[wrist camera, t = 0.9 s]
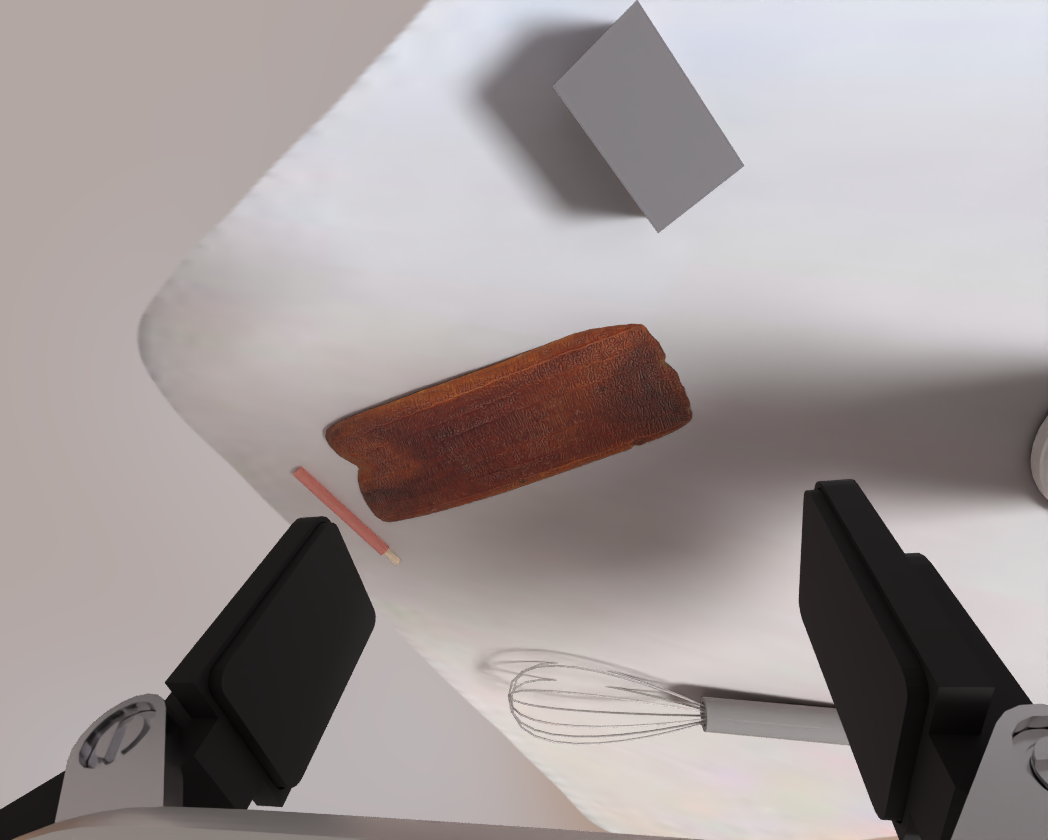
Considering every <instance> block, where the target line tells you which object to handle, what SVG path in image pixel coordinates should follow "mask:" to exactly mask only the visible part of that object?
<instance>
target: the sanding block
mask: <svg viewBox="0 0 1048 840" xmlns="http://www.w3.org/2000/svg"><path fill="white" fill-rule="evenodd" d="M552 87H553V89H554V90H555V91H556V93H557V94H558V95H559V97H560V98H561V100H562V101H563V102H564V104H565V105H566V107H567V108H568V109H569V111H570V112H571V113H572V115H573V116H574V118H575V119H576V120H577V122H578V123H579V125H580V126H581V127H582V129H583V130H584V131H585V133H586V134H587V136H588V137H589V138H590V140H591V141H592V142H593V144H594V145H595V147H596V148H597V149H598V151H599V152H600V154H601V155H602V156H603V158H604V159H605V160H606V162H607V163H608V165H609V166H610V167H611V169H612V170H613V172H614V173H615V174H616V176H617V177H618V178H619V180H620V181H621V183H622V184H623V185H624V187H625V188H626V190H627V191H628V192H629V194H630V195H631V196H632V198H633V199H634V201H635V202H636V203H637V205H638V206H639V208H640V209H641V210H642V212H643V213H644V214H645V216H646V217H647V219H648V220H649V221H650V223H651V224H652V225H653V227H654V228H655V230H656V231H657V232H658V233H659V232H660V231H662V230H663V229H664V228H665V227H667V226H668V225H669V224H671V223H672V222H673V221H674V220H676V219H677V218H678V217H680V216H681V215H682V214H683V213H685V212H686V211H687V210H688V209H690V208H691V207H692V206H694V205H695V204H696V203H697V202H699V201H700V200H701V199H703V198H704V197H705V196H706V195H708V194H709V193H710V192H711V191H713V190H714V189H715V188H717V187H718V186H719V185H720V184H722V183H723V182H724V181H726V180H727V179H728V178H729V177H731V176H732V175H733V174H734V173H736V172H737V171H738V170H740V169H741V168H742V167H743V166H744V164H743V163H742V161H741V160H740V158H739V157H738V155H737V154H736V152H735V150H734V149H733V147H732V146H731V144H730V143H729V141H728V140H727V138H726V137H725V135H724V133H723V132H722V130H721V129H720V127H719V126H718V124H717V123H716V121H715V120H714V118H713V116H712V115H711V113H710V112H709V110H708V109H707V107H706V106H705V104H704V102H703V101H702V99H701V98H700V96H699V95H698V93H697V92H696V90H695V89H694V87H693V85H692V84H691V82H690V81H689V79H688V78H687V76H686V75H685V73H684V72H683V70H682V68H681V67H680V65H679V64H678V62H677V61H676V59H675V58H674V56H673V54H672V53H671V51H670V50H669V48H668V47H667V45H666V44H665V42H664V41H663V39H662V37H661V36H660V34H659V33H658V31H657V30H656V28H655V27H654V25H653V24H652V22H651V20H650V19H649V17H648V16H647V14H646V13H645V11H644V10H643V8H642V6H641V5H640V3H639V2H638V0H637V1H636V2H635V3H634V4H633V5H632V6H631V7H630V8H629V9H628V10H627V11H626V12H625V13H624V14H623V15H622V16H621V17H620V18H619V19H618V20H617V21H616V22H615V23H614V24H613V25H612V26H611V27H610V28H609V29H608V30H607V31H606V32H605V33H604V34H603V35H602V36H601V37H600V38H599V39H598V40H597V41H596V42H595V43H594V44H593V45H592V46H591V47H590V49H589V50H588V51H587V52H586V53H585V54H584V55H583V56H582V57H581V58H580V59H579V60H578V61H577V62H576V63H575V64H574V65H573V66H572V67H571V68H570V69H569V70H568V71H567V72H566V73H565V74H564V75H563V76H562V77H561V78H560V79H559V80H558V81H557V82H556V83H555V84H554V85H553V86H552Z"/></svg>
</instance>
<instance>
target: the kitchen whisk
mask: <svg viewBox="0 0 1048 840" xmlns="http://www.w3.org/2000/svg"><path fill="white" fill-rule="evenodd" d="M545 664H557V663H555V662H551V663H540V664H538V665H535V666H533V667H530V668H528V669H526V670H524V671H522V672H521V673H519V674H518V675H517V676H516V677H515V678H514V679H513V680H512V682H511V686H510V690H509V694H508V700H509V705H510V710H511V713H512V714H513V716H514V717H515V719H516V721H517V722H518V724H519V725H520V727H521V728H522V729H523V730H525V731H527V732H528V733H530V734H531V735H533V736H534V737H536V738H540V739H543V740H547V741H550V742H554V743H562V744H573V745H591V744H607V743H617V742H626V741H632V740H638V739H644V738H649V737H654V736H659V735H663V734H668V733H672V732H676V731H680V730H684V729H688V728H692V727H695V726H699V725H702V728H703V730H704V732H713V733H723V734H734V735H745V736H755V737H766V738H777V739H787V740H798V741H808V742H819V743H830V744H840V745H850V744H849V741H848V739H847V736H846V734H845V731H844V728H843V726H842V723H841V720H840V718H839V715H838V712H837V710H836V708H827V707H815V706H804V705H792V704H781V703H770V702H758V701H747V700H735V699H724V698H713V697H702V698H701V702H700V703H699V702H696V701H694V700H692V699H689V698H687V697H685V696H682V695H680V694H677V693H675V692H672V691H670V690H667V689H665V688H662V687H659V686H657V685H654V684H651V683H648V682H646V681H643V680H640V679H637V678H634V677H631V676H627V675H624V674H621V673H617V672H612V671H608V672H612V673H615V674H619V675H623V676H626V677H629V678H632V679H635V680H638V681H641V682H638V681H635V680H632V679H629V678H625V677H622V676H618V675H614V674H610V673H606V672H602V671H598V670H592V669H587V668H581V667H575V666H564V665H545ZM539 665H545V666H539ZM555 666H556V667H567V668H578V669H583V670H588V671H594V672H599V673H603V674H607V675H611V676H615V677H619V678H623V679H626V680H629V681H633V682H636V683H639V684H643V685H646V686H649V687H652V688H655V689H658V690H660V691H663V692H666V693H669V694H672V695H674V696H677V697H680V698H682V699H685V700H687V701H690V702H692V703H695V704H697V705H700V707H696V706H692V705H689V704H685V703H681V702H678V701H674V700H670V699H666V698H662V697H658V696H654V695H649V694H645V693H641V692H636V691H632V690H627V689H623V688H617V687H609V688H614V689H620V690H624V691H629V692H634V693H638V694H643V695H647V696H651V697H655V698H659V699H663V700H667V701H671V702H675V703H679V704H683V705H686V706H690V707H694V708H697V709H700V710H695V709H689V708H683V707H677V706H671V705H665V704H658V703H652V702H645V701H638V700H632V699H625V698H617V697H610V696H602V695H594V694H585V693H576V692H565V691H554V690H518V691H515V690H516V688H517V687H519V686H521V685H523V684H525V683H529V682H535V681H557V680H555V679H538V680H532V681H526V682H524V683H522V684H520V685H518V686H516V683H517V680H518V679H519V678H520V677H521V676H522V675H523V674H524V673H525V672H526V671H529V670H532V669H535V668H540V667H555ZM515 679H516V681H515V684H514V688H513V691H512V692H511V688H512V684H513V681H514V680H515ZM642 682H644V683H642ZM645 683H647V684H645ZM648 684H649V685H648ZM651 685H652V686H651ZM515 686H516V687H515ZM654 686H655V687H654ZM605 687H608V686H605ZM657 687H658V688H657ZM527 691H539V692H557V693H568V694H579V695H587V696H596V697H604V698H612V699H619V700H627V701H633V702H640V703H647V704H654V705H660V706H666V707H673V708H679V709H685V710H691V711H696V712H700V715H686V714H651V713H625V712H605V711H589V710H574V709H563V708H553V707H546V706H538V705H533V704H528V703H523V702H520V701H517V700H514V699H513V698H512V696H513V693H517V692H527ZM510 692H511V693H510ZM510 701H511V702H510ZM513 701H515V702H518V703H521V704H524V705H530V706H535V707H541V708H549V709H557V710H568V711H580V712H594V713H612V714H634V715H661V716H701V719H695V720H687V721H678V722H668V723H656V724H642V725H623V726H582V725H567V724H557V723H550V722H545V721H540V720H535V719H533V718H530V717H528V716H525V715H523V714H521V713H520V712H518V711H517V710H516V709H515V708H514V707H513ZM514 710H515V711H516V712H517V713H518V714H519V715H521V716H523V717H526V718H528V719H531V720H533V721H536V722H541V723H546V724H551V725H559V726H569V727H589V728H615V727H639V726H654V725H666V724H676V723H686V722H694V721H699V722H694V723H689V724H684V725H679V726H674V727H668V728H662V729H656V730H649V731H643V732H634V733H625V734H614V735H600V736H571V735H561V734H552V733H548V732H544V731H540V730H536V729H534V728H532V727H530V726H528V725H526V724H524V723H522V722H521V721H520V720H519V719H518V717H517V716H516V715H515V714H514ZM520 723H521V724H523V725H525V726H526V727H528V728H530V729H532V730H534V731H537V732H541V733H545V734H549V735H553V736H564V737H611V736H623V735H632V734H641V733H648V732H654V731H661V730H667V729H673V728H678V727H684V726H688V727H685V728H681V729H677V730H673V731H669V732H664V733H659V734H655V735H650V736H645V737H639V738H633V739H627V740H619V741H609V742H600V743H571V742H560V741H553V740H549V739H546V738H542V737H539V736H536V735H534V734H533V733H531V732H530V731H528V730H526V729H525V728H523V727H522V726H521V724H520ZM698 723H699V724H698ZM693 724H696V725H693ZM689 725H692V726H689Z"/></svg>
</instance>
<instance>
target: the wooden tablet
mask: <svg viewBox="0 0 1048 840" xmlns="http://www.w3.org/2000/svg"><path fill="white" fill-rule="evenodd" d="M665 356H666V355H665V353H664V351H663V349H662V347H661V346H660V344H659V342H658V341H657V340H656V339H655V338H654V337H653V336H652V335H651V334H650V333H649V331H648V330H647V328H646V327H645V326H644V325H642V324H627V325H617V326H608V327H603V328H596V329H590V330H586V331H583V332H579V333H575V334H572V335H569V336H567V337H564V338H562V339H559V340H557V341H554V342H551V343H549V344H547V345H544V346H541V347H539V348H536V349H533V350H530V351H527V352H525V353H523V354H520V355H518V356H516V357H512V358H510V359H508V360H505V361H503V362H500V363H497V364H495V365H492V366H489V367H487V368H484V369H481V370H478V371H475V372H473V373H470V374H467V375H464V376H462V377H459V378H456V379H453V380H451V381H448V382H445V383H442V384H439V385H436V386H433V387H431V388H427V389H424V390H421V391H419V392H417V393H414V394H412V395H409V396H406V397H403V398H400V399H397V400H395V401H393V402H390V403H387V404H384V405H381V406H378V407H376V408H372V409H369V410H367V411H365V412H361V413H359V414H356V415H353V416H351V417H349V418H346V419H344V420H342V421H340V422H338V423H336V424H335V425H333V426H332V427H330V428H329V429H328V430H327V431H326V439H327V441H328V443H329V445H330V446H331V448H332V449H333V450H334V451H335V452H336V453H337V454H338V455H339V456H340V457H342V458H344V459H346V460H348V461H349V462H351V463H353V464H355V465H356V466H358V468H359V470H358V482H359V486H360V490H361V493H362V495H363V496H364V500H365V501H366V503H367V505H368V506H369V508H370V509H371V511H372V512H373V513H374V515H375V516H376V517H378V518H379V519H381V520H382V521H385V522H393V521H399V520H404V519H410V518H414V517H419V516H423V515H428V514H431V513H435V512H439V511H442V510H446V509H449V508H453V507H457V506H461V505H464V504H467V503H471V502H473V501H477V500H481V499H484V498H488V497H490V496H494V495H498V494H501V493H504V492H507V491H510V490H513V489H516V488H518V487H521V486H524V485H527V484H530V483H533V482H536V481H539V480H542V479H544V478H548V477H551V476H554V475H556V474H559V473H562V472H565V471H568V470H571V469H574V468H577V467H579V466H582V465H585V464H588V463H591V462H593V461H597V460H600V459H603V458H605V457H608V456H610V455H614V454H617V453H620V452H623V451H626V450H628V449H631V448H632V447H633V446H634V445H642V444H644V443H646V442H649V441H652V440H655V439H658V438H660V437H662V436H665V435H667V434H669V433H671V432H673V431H675V430H677V429H679V428H681V427H683V426H684V425H686V424H687V423H688V422H689V421H690V420H691V418H692V412H691V410H690V402H689V399H688V397H687V396H686V392H685V389H684V387H683V386H682V384H681V382H680V379H679V376H678V373H677V372H676V371H675V370H674V369H673V368H672V367H671V366H670V365H669V364H667V363H666V362H665Z"/></svg>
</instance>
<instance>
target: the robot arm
mask: <svg viewBox="0 0 1048 840" xmlns="http://www.w3.org/2000/svg"><path fill="white" fill-rule="evenodd" d="M1031 469H1032V475H1033V479H1034V481H1035V483H1036V485H1037V487H1038V489H1039V491H1040V492H1041V493H1042V494H1043V495H1044V496H1045V498H1046V499H1047V500H1048V416H1047V417H1046V419H1045V420H1044V422H1043V423H1042V425H1041V426H1040V428H1039V430H1038V433H1037V436H1036V438H1035V441H1034V443H1033V447H1032V454H1031ZM799 607H800V613H801V617H802V620H803V623H804V625H805V628H806V631H807V633H808V636H809V638H810V641H811V644H812V646H813V649H814V652H815V654H816V657H817V660H818V662H819V665H820V668H821V670H822V673H823V675H824V678H825V681H826V683H827V686H828V689H829V691H830V694H831V697H832V699H833V702H834V705H835V707H836V710H837V712H838V715H839V718H840V720H841V723H842V726H843V728H844V731H845V734H846V736H847V739H848V741H849V744H850V747H851V749H852V752H853V755H854V757H855V760H856V763H857V765H858V768H859V771H860V773H861V776H862V778H863V781H864V784H865V786H866V789H867V792H868V794H869V797H870V800H871V802H872V805H873V807H874V810H875V812H876V814H877V815H878V817H879V818H880V819H881V820H892V823H893V825H894V828H895V830H896V833H897V835H898V838H899V840H1048V705H1045V704H1033V703H1032V702H1031V701H1030V699H1029V698H1028V697H1027V695H1026V694H1025V692H1024V691H1023V690H1022V688H1021V687H1020V685H1019V684H1018V683H1017V681H1016V680H1015V678H1014V677H1013V676H1012V674H1011V673H1010V672H1009V670H1008V669H1007V667H1006V666H1005V665H1004V663H1003V662H1002V660H1001V659H1000V658H999V656H998V655H997V653H996V652H995V651H994V649H993V648H992V647H991V645H990V644H989V642H988V641H987V640H986V638H985V637H984V635H983V634H982V633H981V631H980V630H979V629H978V627H977V626H976V624H975V623H974V622H973V620H972V619H971V617H970V616H969V615H968V613H967V612H966V610H965V609H964V608H963V606H962V605H961V604H960V602H959V601H958V599H957V598H956V597H955V595H954V594H953V592H952V591H951V590H950V588H949V587H948V586H947V584H946V583H945V581H944V580H943V579H942V577H941V576H940V574H939V573H938V572H937V570H936V569H935V567H934V566H933V565H932V563H931V562H930V561H929V560H928V559H927V558H926V557H925V556H924V555H922V554H920V553H906V554H905V553H904V552H903V550H902V549H901V547H900V546H899V544H898V543H897V541H896V540H895V539H894V537H893V536H892V534H891V533H890V531H889V530H888V528H887V527H886V525H885V524H884V522H883V521H882V519H881V518H880V516H879V515H878V513H877V512H876V510H875V509H874V507H873V506H872V504H871V503H870V501H869V500H868V499H867V497H866V496H865V494H864V493H863V491H862V490H861V488H860V487H859V485H858V484H857V483H856V481H855V480H853V479H845V480H831V481H818V482H817V483H816V485H815V489H814V490H806V491H805V493H804V502H803V523H802V543H801V563H800V584H799ZM375 617H376V616H375V611H374V608H373V606H372V603H371V601H370V599H369V597H368V594H367V592H366V590H365V588H364V585H363V583H362V581H361V578H360V576H359V574H358V572H357V569H356V567H355V565H354V563H353V560H352V558H351V556H350V554H349V551H348V549H347V547H346V545H345V542H344V540H343V538H342V536H341V533H340V531H339V529H338V527H337V525H336V524H335V523H331V522H330V520H329V519H328V518H327V517H323V516H320V517H306V518H299V519H297V520H296V521H295V522H294V523H293V524H292V525H291V526H290V527H289V529H288V530H287V531H286V532H285V534H284V535H283V536H282V537H281V539H280V540H279V541H278V543H277V544H276V545H275V546H274V547H273V549H272V550H271V551H270V552H269V554H268V555H267V556H266V557H265V559H264V560H263V561H262V563H261V564H260V565H259V566H258V567H257V569H256V570H255V571H254V572H253V573H252V575H251V576H250V577H249V579H248V580H247V581H246V582H245V583H244V585H243V586H242V587H241V588H240V590H239V591H238V592H237V593H236V595H235V596H234V597H233V598H232V600H231V601H230V602H229V603H228V605H227V606H226V607H225V608H224V609H223V611H222V612H221V613H220V614H219V616H218V617H217V618H216V619H215V621H214V622H213V623H212V624H211V626H210V627H209V628H208V629H207V631H206V632H205V633H204V634H203V636H202V637H201V638H200V639H199V641H198V642H197V643H196V644H195V645H194V647H193V648H192V649H191V651H190V652H189V653H188V654H187V655H186V657H185V658H184V659H183V660H182V662H181V663H180V664H179V666H178V667H177V668H176V669H175V670H174V672H173V673H172V674H171V675H170V677H169V678H168V679H167V680H166V682H165V684H166V685H167V686H168V687H169V689H170V690H171V694H170V695H169V696H168V697H167V699H166V700H164V699H163V698H161V697H160V696H159V695H156V694H144V695H139V696H135V697H133V698H130V699H128V700H126V701H123V702H121V703H120V704H118V705H116V706H115V707H113V708H111V709H110V710H108V711H107V712H106V713H104V714H103V715H102V716H101V717H99V718H98V719H97V720H96V721H95V722H93V723H92V724H91V725H90V727H89V728H88V729H87V730H86V731H85V732H84V733H83V734H82V735H81V736H80V738H79V739H78V741H77V742H76V744H75V745H74V747H73V748H72V750H71V753H70V756H69V758H68V761H67V766H66V770H65V771H64V772H62V773H60V774H59V775H57V776H55V777H54V778H52V779H50V780H49V781H47V782H45V783H44V784H42V785H41V786H39V787H37V788H35V789H34V790H32V791H30V792H29V793H27V794H25V795H24V796H22V797H20V798H19V799H17V800H16V801H14V802H12V803H10V804H9V805H7V806H5V807H4V808H2V809H0V840H702V839H688V838H674V837H660V836H646V835H632V834H618V833H604V832H589V831H576V830H562V829H548V828H533V827H517V826H502V825H487V824H472V823H457V822H441V821H427V820H411V819H396V818H379V817H364V816H347V815H346V816H345V815H331V814H330V815H329V814H314V813H297V812H279V811H263V810H247V808H248V806H249V805H250V803H251V801H252V800H253V801H254V802H255V804H256V805H258V806H275V807H283V805H284V803H285V801H286V799H287V796H288V794H289V792H290V790H291V788H293V787H295V786H296V785H297V784H298V783H299V782H300V781H301V779H302V777H303V775H304V773H305V771H306V769H307V766H308V765H309V762H310V760H311V758H312V756H313V754H314V752H315V750H316V748H317V745H318V744H319V741H320V739H321V737H322V735H323V733H324V731H325V729H326V727H327V725H328V723H329V720H330V719H331V716H332V714H333V712H334V710H335V708H336V706H337V704H338V702H339V699H340V698H341V695H342V693H343V691H344V689H345V687H346V685H347V683H348V681H349V679H350V677H351V675H352V672H353V670H354V668H355V666H356V664H357V662H358V660H359V658H360V656H361V654H362V652H363V649H364V647H365V645H366V643H367V641H368V639H369V637H370V635H371V633H372V631H373V628H374V625H375Z"/></svg>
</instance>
